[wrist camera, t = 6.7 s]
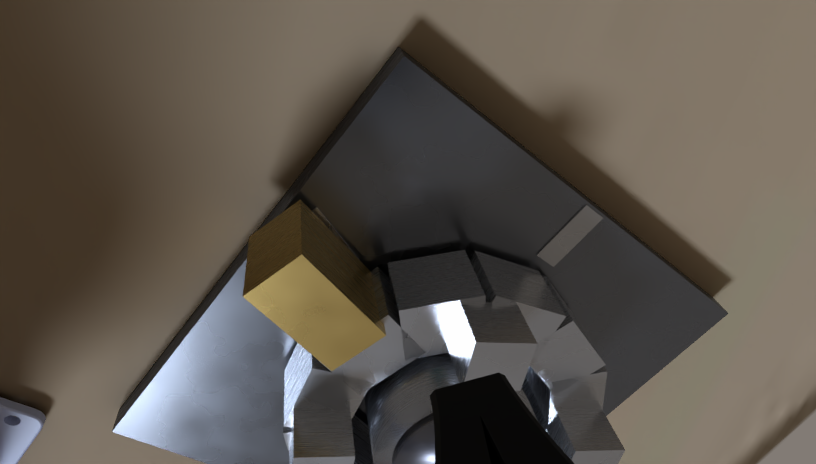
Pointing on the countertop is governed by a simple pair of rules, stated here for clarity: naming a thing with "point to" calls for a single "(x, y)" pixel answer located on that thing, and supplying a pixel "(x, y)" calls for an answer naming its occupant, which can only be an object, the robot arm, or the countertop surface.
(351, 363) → the grey block ring
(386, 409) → the housing
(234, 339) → the flange plate
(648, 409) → the countertop surface
